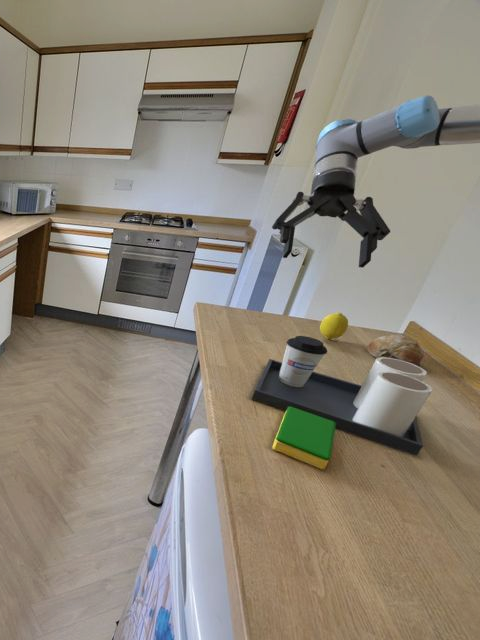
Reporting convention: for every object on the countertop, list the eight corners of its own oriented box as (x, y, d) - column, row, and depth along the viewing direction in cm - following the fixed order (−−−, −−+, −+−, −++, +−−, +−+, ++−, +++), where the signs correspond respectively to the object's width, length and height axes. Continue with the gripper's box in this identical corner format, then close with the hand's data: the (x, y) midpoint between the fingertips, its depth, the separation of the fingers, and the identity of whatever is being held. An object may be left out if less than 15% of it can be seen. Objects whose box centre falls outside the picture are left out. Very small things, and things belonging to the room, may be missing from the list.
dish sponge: (271, 449, 69) (276, 437, 68) (284, 415, 79) (288, 405, 78) (323, 470, 65) (330, 458, 64) (330, 432, 74) (336, 421, 73)
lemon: (322, 342, 112) (335, 315, 108) (310, 334, 117) (322, 308, 113) (345, 344, 111) (358, 317, 108) (332, 336, 116) (344, 310, 113)
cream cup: (398, 409, 81) (425, 365, 77) (400, 425, 76) (429, 379, 72) (352, 396, 85) (375, 353, 81) (352, 409, 81) (376, 365, 76)
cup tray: (407, 409, 83) (412, 400, 82) (416, 456, 69) (423, 446, 68) (266, 366, 97) (269, 358, 96) (251, 399, 84) (255, 389, 83)
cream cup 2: (401, 427, 76) (430, 381, 71) (404, 445, 71) (435, 396, 67) (352, 412, 80) (376, 367, 76) (352, 427, 75) (378, 380, 71)
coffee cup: (272, 370, 94) (289, 330, 90) (309, 380, 91) (328, 339, 86) (271, 382, 89) (289, 341, 85) (311, 393, 85) (331, 351, 81)
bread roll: (359, 366, 107) (371, 346, 102) (367, 341, 112) (380, 320, 106) (411, 381, 101) (427, 359, 96) (417, 353, 106) (434, 332, 100)
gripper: (392, 197, 92) (387, 277, 86) (263, 188, 102) (251, 260, 96) (415, 172, 86) (412, 257, 80) (275, 165, 95) (263, 241, 89)
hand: (324, 259), depth 88 cm, fingers open, 13 cm apart
